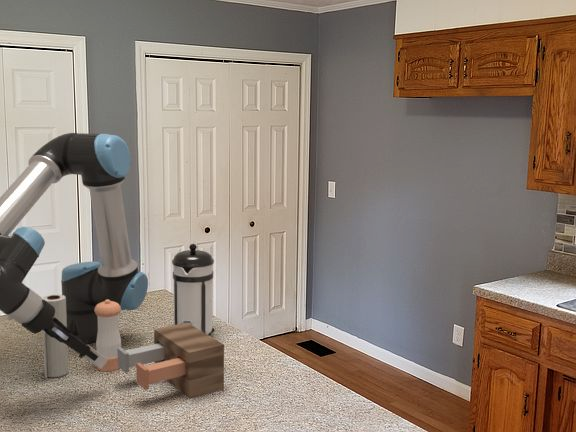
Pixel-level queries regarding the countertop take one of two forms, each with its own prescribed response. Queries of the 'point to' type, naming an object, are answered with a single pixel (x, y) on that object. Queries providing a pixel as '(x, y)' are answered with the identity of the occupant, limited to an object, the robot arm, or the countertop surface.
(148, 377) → the plug terracotta
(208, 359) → the block
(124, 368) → the plug grey
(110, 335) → the salt shaker
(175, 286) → the coffee press
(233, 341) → the countertop surface
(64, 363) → the paper towel roll
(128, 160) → the robot arm
